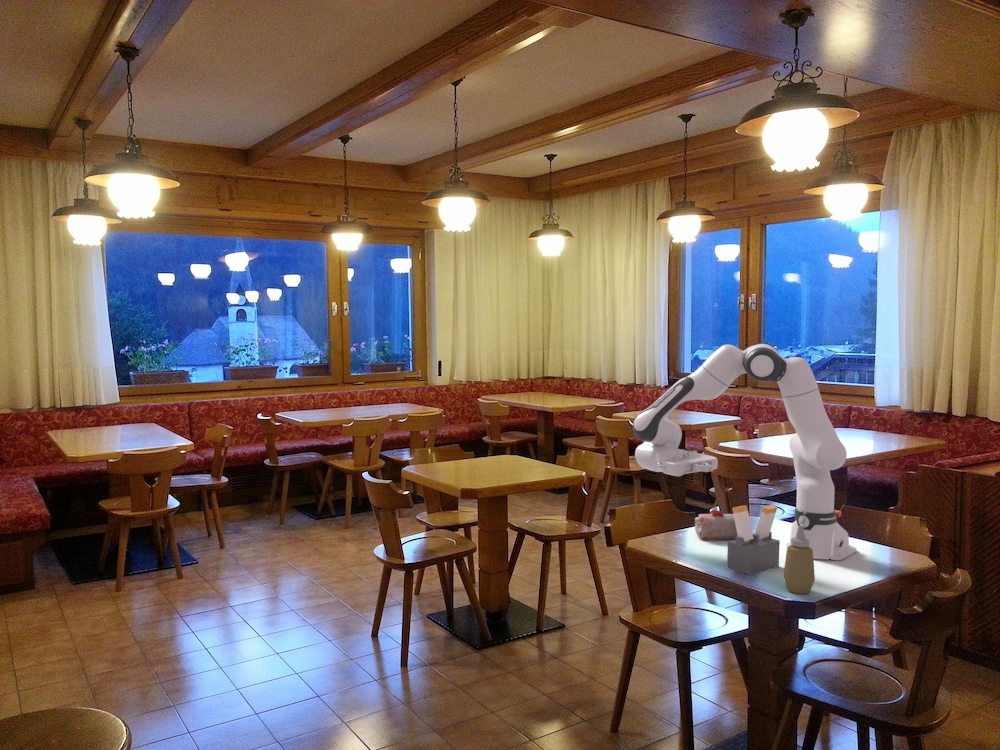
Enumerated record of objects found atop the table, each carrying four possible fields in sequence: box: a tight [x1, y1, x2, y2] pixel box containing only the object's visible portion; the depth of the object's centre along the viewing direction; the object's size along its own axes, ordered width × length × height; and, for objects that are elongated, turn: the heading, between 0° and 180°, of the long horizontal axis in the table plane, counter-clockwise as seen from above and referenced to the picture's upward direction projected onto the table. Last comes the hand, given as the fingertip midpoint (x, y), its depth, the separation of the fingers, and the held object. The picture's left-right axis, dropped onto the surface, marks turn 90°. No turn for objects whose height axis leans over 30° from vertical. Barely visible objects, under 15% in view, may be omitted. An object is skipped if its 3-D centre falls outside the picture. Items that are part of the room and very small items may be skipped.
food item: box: [694, 508, 738, 542], centre depth 260 cm, size 14×8×10 cm, turn 87°
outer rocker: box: [732, 505, 754, 541], centre depth 228 cm, size 5×2×10 cm, turn 125°
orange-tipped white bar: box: [754, 504, 778, 539], centre depth 230 cm, size 5×2×10 cm, turn 125°
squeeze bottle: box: [782, 526, 816, 595], centre depth 209 cm, size 8×8×18 cm
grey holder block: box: [726, 531, 781, 576], centre depth 229 cm, size 14×8×10 cm, turn 125°
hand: (710, 469), depth 237 cm, fingers closed
